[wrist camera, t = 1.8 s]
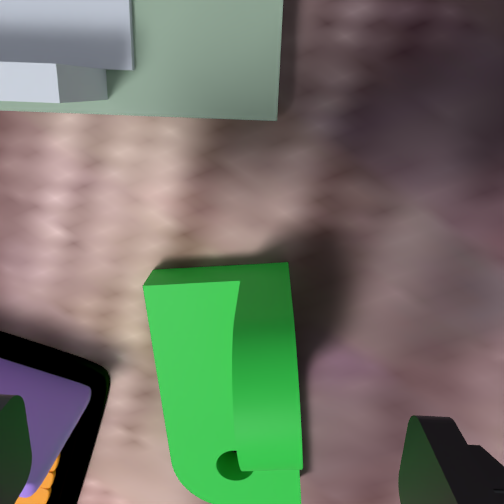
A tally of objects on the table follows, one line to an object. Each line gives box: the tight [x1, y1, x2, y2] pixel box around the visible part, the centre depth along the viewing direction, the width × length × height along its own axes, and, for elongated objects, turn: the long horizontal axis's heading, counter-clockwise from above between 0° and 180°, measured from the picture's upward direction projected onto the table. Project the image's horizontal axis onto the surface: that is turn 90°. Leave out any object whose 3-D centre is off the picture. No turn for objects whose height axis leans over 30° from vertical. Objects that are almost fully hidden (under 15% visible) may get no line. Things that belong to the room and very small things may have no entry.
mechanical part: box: [143, 262, 303, 504], centre depth 19 cm, size 12×6×8 cm, turn 4°
